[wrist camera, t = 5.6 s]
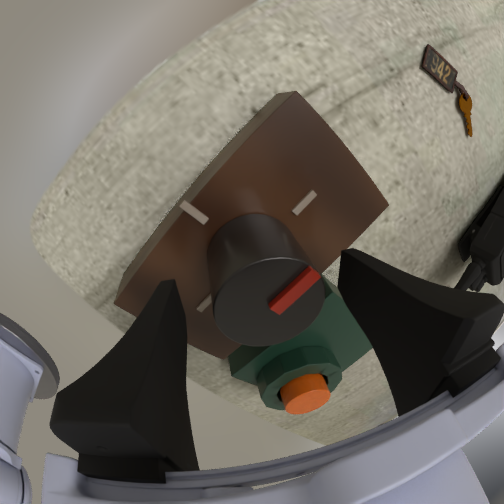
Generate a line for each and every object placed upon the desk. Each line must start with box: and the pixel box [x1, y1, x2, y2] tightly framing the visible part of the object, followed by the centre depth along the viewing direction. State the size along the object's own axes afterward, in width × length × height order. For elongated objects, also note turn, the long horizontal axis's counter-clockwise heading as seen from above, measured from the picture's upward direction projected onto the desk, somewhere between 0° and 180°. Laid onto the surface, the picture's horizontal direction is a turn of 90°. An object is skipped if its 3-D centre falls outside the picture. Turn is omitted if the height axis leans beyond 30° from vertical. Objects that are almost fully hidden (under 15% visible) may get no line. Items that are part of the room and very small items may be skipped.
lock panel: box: [114, 91, 389, 360], centre depth 15 cm, size 14×9×3 cm, turn 137°
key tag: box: [422, 44, 472, 137], centre depth 13 cm, size 8×3×1 cm, turn 57°
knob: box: [207, 214, 326, 346], centre depth 12 cm, size 4×4×4 cm
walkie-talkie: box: [454, 185, 504, 292], centre depth 18 cm, size 6×6×20 cm
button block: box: [228, 274, 373, 410], centre depth 21 cm, size 10×9×4 cm
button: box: [280, 373, 330, 414], centre depth 19 cm, size 4×4×2 cm
